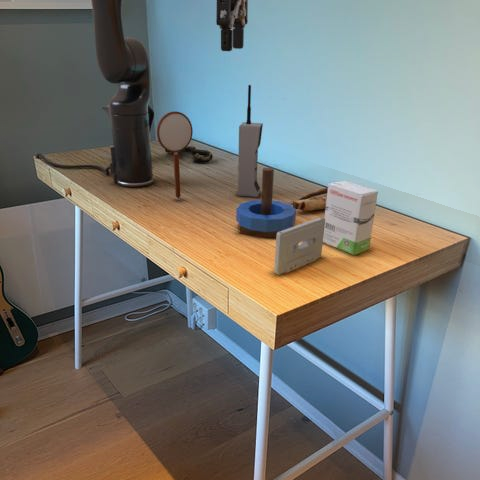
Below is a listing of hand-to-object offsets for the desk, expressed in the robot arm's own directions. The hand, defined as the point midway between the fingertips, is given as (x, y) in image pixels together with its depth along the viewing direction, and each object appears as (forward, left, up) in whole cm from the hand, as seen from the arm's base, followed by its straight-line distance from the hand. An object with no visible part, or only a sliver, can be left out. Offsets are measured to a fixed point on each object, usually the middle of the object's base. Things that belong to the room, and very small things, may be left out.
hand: (232, 49), depth 102 cm
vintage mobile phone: (+3, +6, -32) cm, 33 cm away
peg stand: (+12, -15, -32) cm, 37 cm away
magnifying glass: (-12, -4, -32) cm, 35 cm away
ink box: (+29, -19, -32) cm, 47 cm away
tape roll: (+12, -15, -31) cm, 36 cm away
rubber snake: (-24, +35, -32) cm, 53 cm away
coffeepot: (-39, +27, -32) cm, 57 cm away
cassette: (+22, -31, -32) cm, 50 cm away
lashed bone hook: (+21, +3, -32) cm, 39 cm away
